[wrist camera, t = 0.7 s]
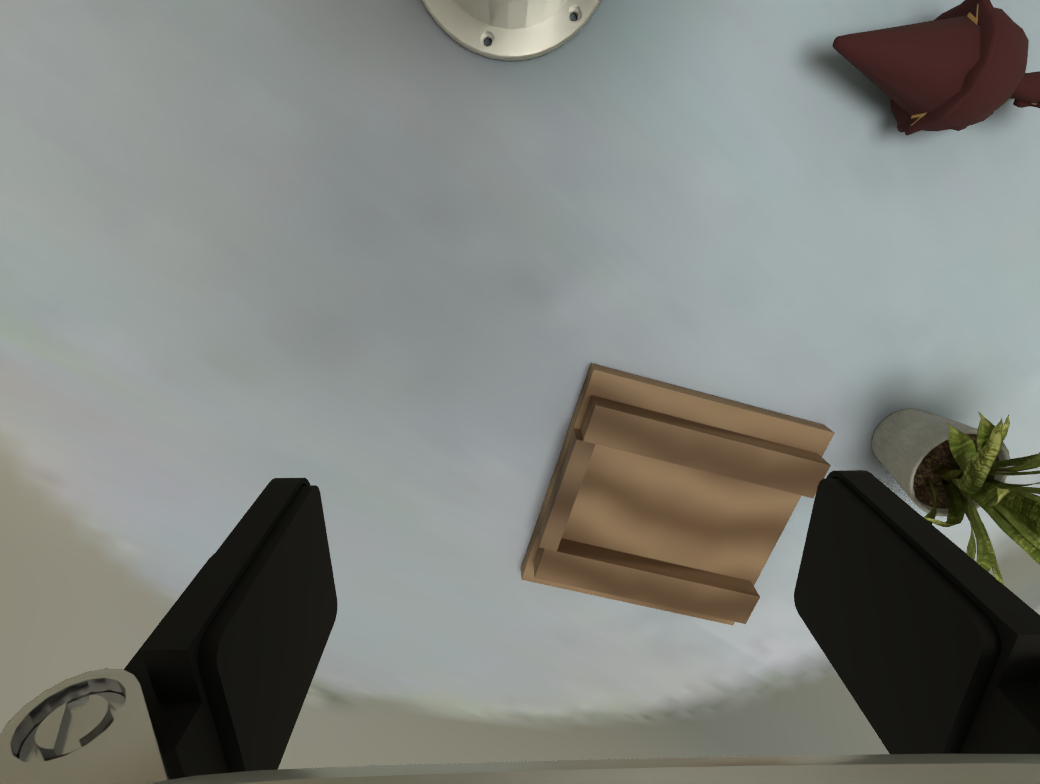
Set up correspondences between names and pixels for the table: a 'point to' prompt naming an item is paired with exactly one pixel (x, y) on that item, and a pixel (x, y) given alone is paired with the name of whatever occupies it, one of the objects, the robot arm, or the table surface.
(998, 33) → the icecream
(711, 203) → the table surface
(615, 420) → the cradle
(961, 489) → the house plant
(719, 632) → the table surface
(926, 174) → the table surface
